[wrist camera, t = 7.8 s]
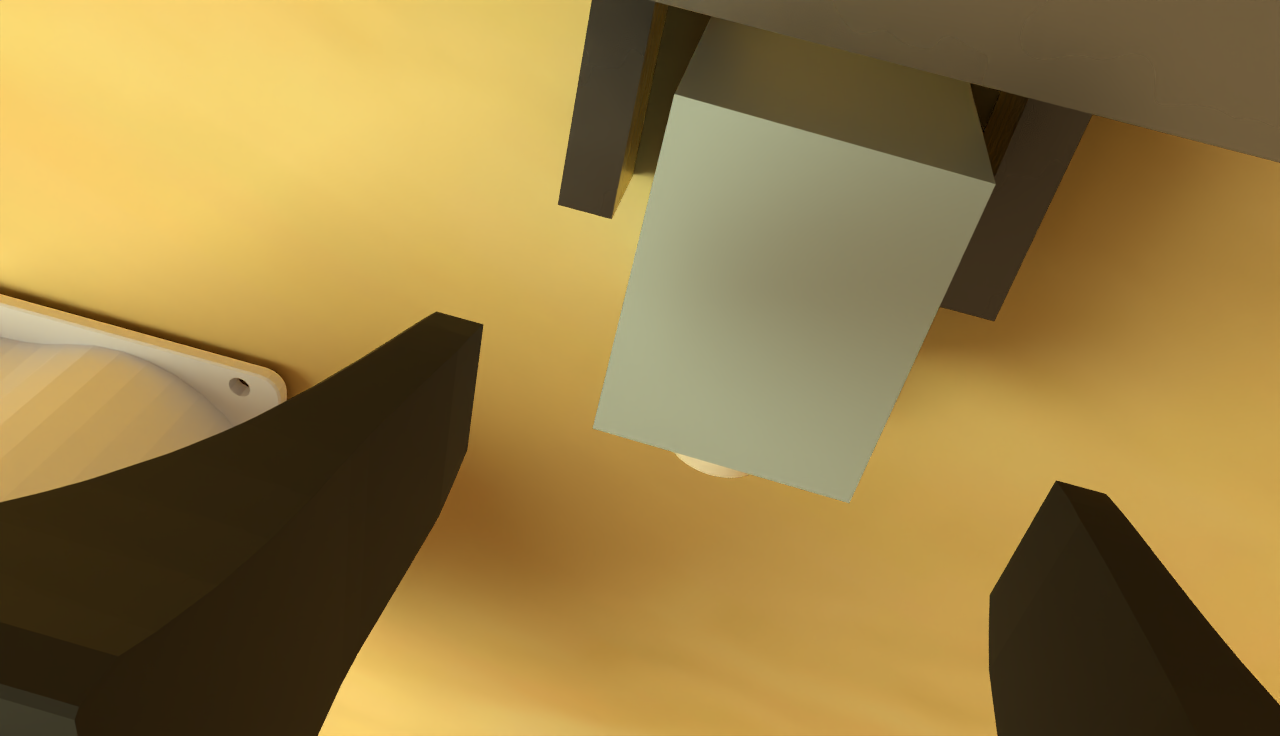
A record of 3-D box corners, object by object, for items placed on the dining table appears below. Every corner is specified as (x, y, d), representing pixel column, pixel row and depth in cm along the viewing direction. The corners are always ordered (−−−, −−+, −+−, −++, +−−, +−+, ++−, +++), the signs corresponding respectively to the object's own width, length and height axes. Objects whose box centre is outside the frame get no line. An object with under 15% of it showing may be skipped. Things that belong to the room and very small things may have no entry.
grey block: (630, 344, 22) (577, 492, 18) (718, 1, 18) (674, 94, 14) (829, 402, 22) (821, 563, 18) (966, 70, 18) (995, 184, 14)
